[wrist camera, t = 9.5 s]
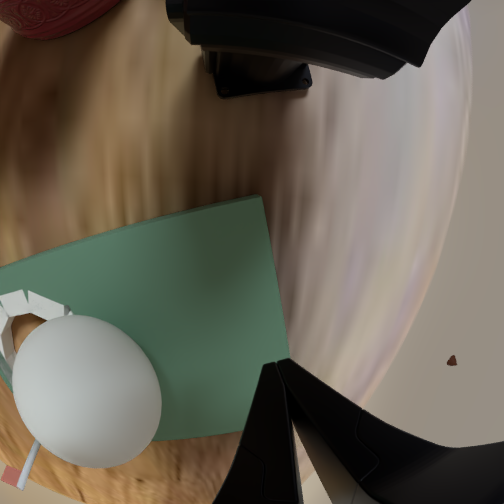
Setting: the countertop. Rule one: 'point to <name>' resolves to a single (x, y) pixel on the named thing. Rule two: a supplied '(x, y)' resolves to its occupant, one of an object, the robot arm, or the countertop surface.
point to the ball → (86, 391)
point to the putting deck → (167, 308)
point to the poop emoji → (452, 361)
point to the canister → (51, 16)
